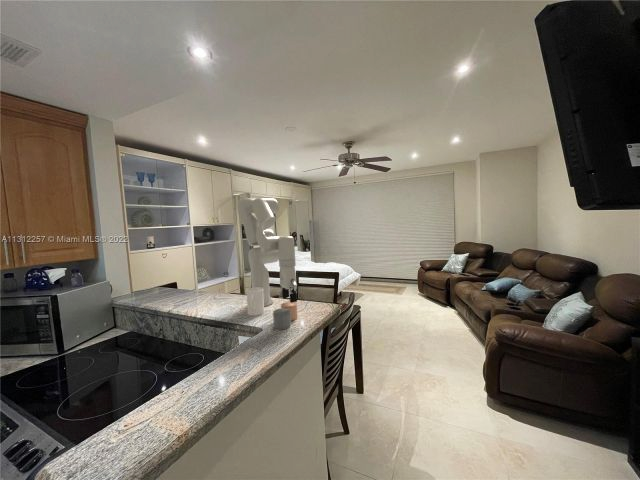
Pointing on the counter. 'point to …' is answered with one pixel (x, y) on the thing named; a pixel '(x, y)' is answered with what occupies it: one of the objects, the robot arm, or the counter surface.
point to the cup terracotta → (291, 309)
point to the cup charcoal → (282, 318)
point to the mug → (255, 301)
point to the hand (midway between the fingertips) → (289, 299)
